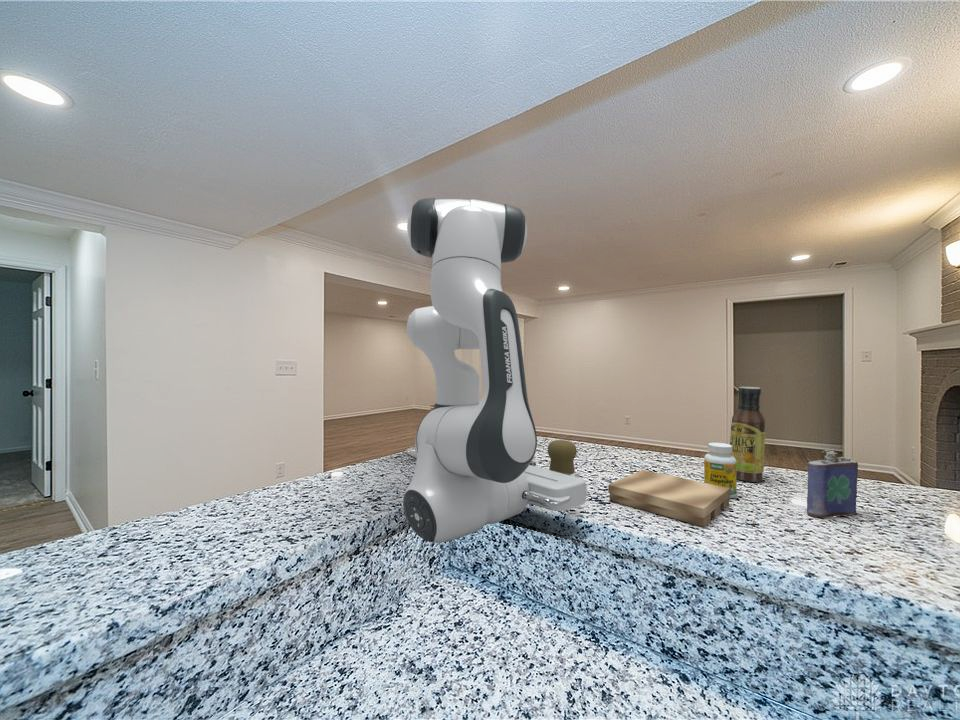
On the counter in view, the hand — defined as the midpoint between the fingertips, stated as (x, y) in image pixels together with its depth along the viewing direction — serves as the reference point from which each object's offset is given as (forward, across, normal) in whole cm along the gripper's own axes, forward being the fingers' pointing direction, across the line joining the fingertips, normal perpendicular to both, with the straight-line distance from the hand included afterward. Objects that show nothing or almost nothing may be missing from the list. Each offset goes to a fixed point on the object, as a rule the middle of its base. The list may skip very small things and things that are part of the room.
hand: (553, 470), depth 73 cm
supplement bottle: (+27, -19, +6) cm, 34 cm away
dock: (+15, -14, +6) cm, 22 cm away
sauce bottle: (+42, -20, +6) cm, 47 cm away
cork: (+2, 0, +6) cm, 7 cm away
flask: (+30, -35, +6) cm, 47 cm away
